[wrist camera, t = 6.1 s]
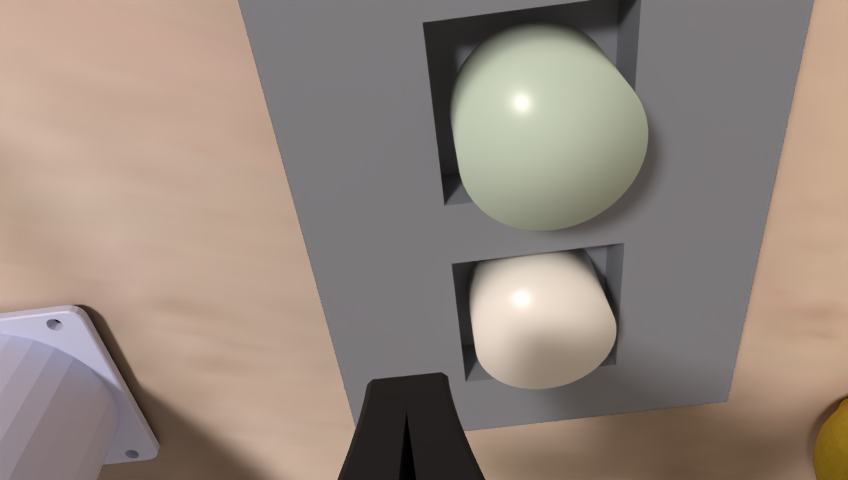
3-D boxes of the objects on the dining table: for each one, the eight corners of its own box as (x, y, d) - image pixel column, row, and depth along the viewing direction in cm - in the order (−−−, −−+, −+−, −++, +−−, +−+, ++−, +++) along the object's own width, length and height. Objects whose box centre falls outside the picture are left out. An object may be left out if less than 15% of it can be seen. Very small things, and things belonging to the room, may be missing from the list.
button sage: (457, 185, 18) (466, 241, 16) (440, 33, 16) (449, 74, 14) (611, 166, 18) (641, 219, 16) (619, 9, 16) (655, 47, 13)
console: (362, 389, 26) (359, 443, 24) (131, -521, 12) (78, -581, 10) (699, 350, 25) (727, 401, 23) (868, -641, 11) (972, -731, 9)
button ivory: (471, 339, 23) (480, 396, 21) (461, 241, 21) (470, 295, 19) (592, 324, 23) (613, 381, 21) (596, 225, 21) (620, 277, 18)
